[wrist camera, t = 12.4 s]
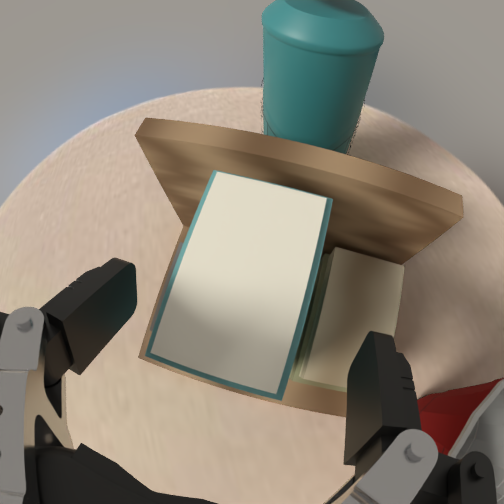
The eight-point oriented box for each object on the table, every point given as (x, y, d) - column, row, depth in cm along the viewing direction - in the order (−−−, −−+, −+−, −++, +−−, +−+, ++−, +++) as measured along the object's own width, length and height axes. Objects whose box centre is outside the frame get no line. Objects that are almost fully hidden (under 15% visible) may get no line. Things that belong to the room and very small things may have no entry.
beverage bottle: (342, 207, 25) (438, -17, 6) (265, 214, 25) (269, -48, 6) (325, 147, 27) (372, -55, 8) (256, 152, 27) (249, -67, 8)
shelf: (379, 267, 23) (461, 195, 12) (346, 415, 19) (424, 464, 8) (191, 217, 25) (145, 117, 13) (143, 357, 21) (43, 352, 10)
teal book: (296, 280, 22) (334, 195, 10) (269, 374, 20) (282, 402, 8) (236, 263, 22) (212, 165, 11) (207, 355, 20) (141, 355, 8)
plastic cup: (344, 409, 19) (422, 454, 8) (450, 342, 20) (555, 321, 9) (384, 505, 16) (451, 573, 5) (479, 437, 17) (569, 454, 6)
